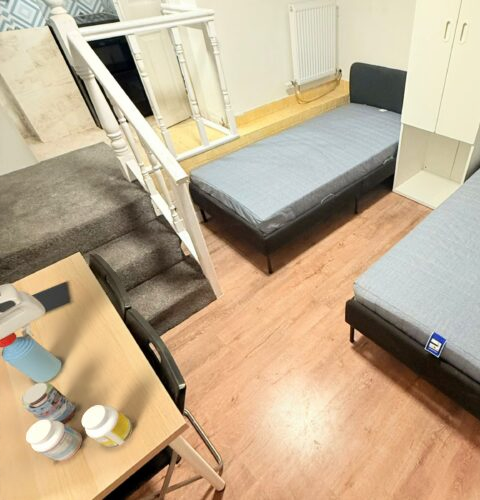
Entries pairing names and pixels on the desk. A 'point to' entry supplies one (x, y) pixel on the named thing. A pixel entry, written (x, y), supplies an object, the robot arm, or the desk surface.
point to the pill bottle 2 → (106, 425)
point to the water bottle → (31, 359)
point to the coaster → (53, 297)
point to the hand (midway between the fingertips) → (12, 346)
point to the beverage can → (48, 403)
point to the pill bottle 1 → (54, 439)
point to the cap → (8, 340)
